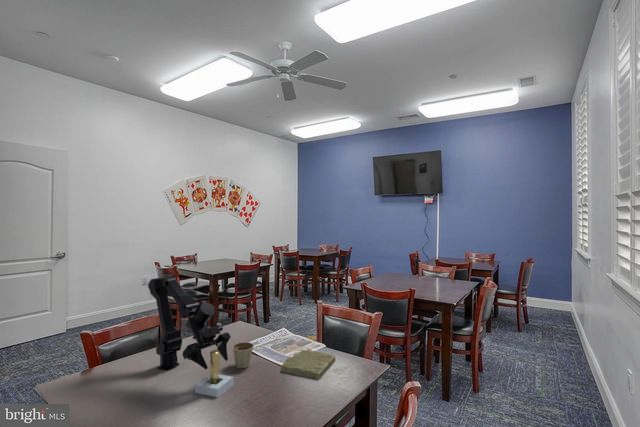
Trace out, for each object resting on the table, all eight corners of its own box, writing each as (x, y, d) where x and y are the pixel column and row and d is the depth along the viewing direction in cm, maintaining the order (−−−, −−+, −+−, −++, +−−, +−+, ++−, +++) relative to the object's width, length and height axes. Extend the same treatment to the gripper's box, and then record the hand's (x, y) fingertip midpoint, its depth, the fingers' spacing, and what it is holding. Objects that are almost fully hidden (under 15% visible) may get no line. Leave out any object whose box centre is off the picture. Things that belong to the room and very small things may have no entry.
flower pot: (248, 371, 145) (248, 351, 145) (228, 369, 147) (228, 349, 147) (257, 362, 154) (257, 343, 154) (237, 360, 156) (237, 341, 156)
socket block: (195, 392, 127) (195, 384, 127) (212, 380, 137) (212, 372, 137) (217, 397, 124) (217, 389, 124) (233, 384, 133) (233, 377, 133)
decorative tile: (335, 361, 156) (335, 353, 156) (319, 380, 138) (319, 372, 138) (299, 355, 164) (299, 347, 164) (278, 372, 145) (278, 364, 145)
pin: (208, 390, 129) (208, 353, 129) (211, 386, 132) (211, 350, 132) (217, 390, 129) (217, 353, 129) (220, 386, 132) (220, 350, 132)
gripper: (187, 323, 125) (205, 361, 119) (228, 312, 140) (246, 345, 134) (174, 340, 130) (191, 377, 123) (215, 327, 145) (232, 360, 138)
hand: (217, 364), depth 130 cm, fingers open, 9 cm apart
